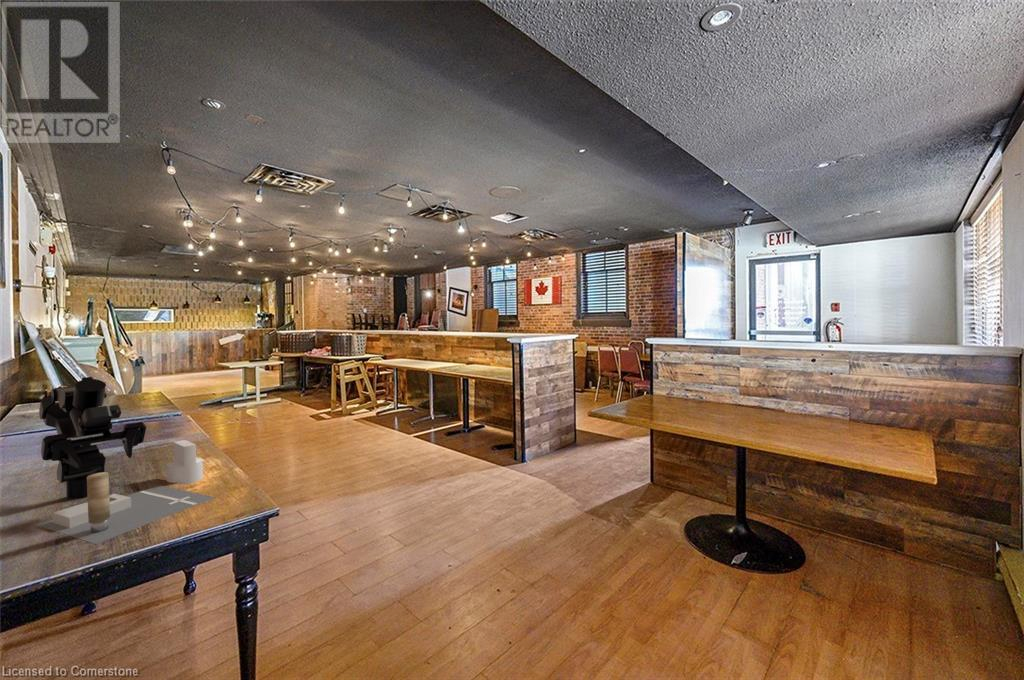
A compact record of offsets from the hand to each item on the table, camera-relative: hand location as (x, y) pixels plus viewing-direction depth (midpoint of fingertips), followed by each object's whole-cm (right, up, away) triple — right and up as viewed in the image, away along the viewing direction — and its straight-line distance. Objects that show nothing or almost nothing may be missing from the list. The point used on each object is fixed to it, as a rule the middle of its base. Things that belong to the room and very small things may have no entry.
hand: (106, 461), depth 103 cm
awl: (+4, -14, -6) cm, 16 cm away
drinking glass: (-2, -14, +27) cm, 31 cm away
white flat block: (-5, -14, +2) cm, 15 cm away
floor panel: (+3, -15, +4) cm, 16 cm away
